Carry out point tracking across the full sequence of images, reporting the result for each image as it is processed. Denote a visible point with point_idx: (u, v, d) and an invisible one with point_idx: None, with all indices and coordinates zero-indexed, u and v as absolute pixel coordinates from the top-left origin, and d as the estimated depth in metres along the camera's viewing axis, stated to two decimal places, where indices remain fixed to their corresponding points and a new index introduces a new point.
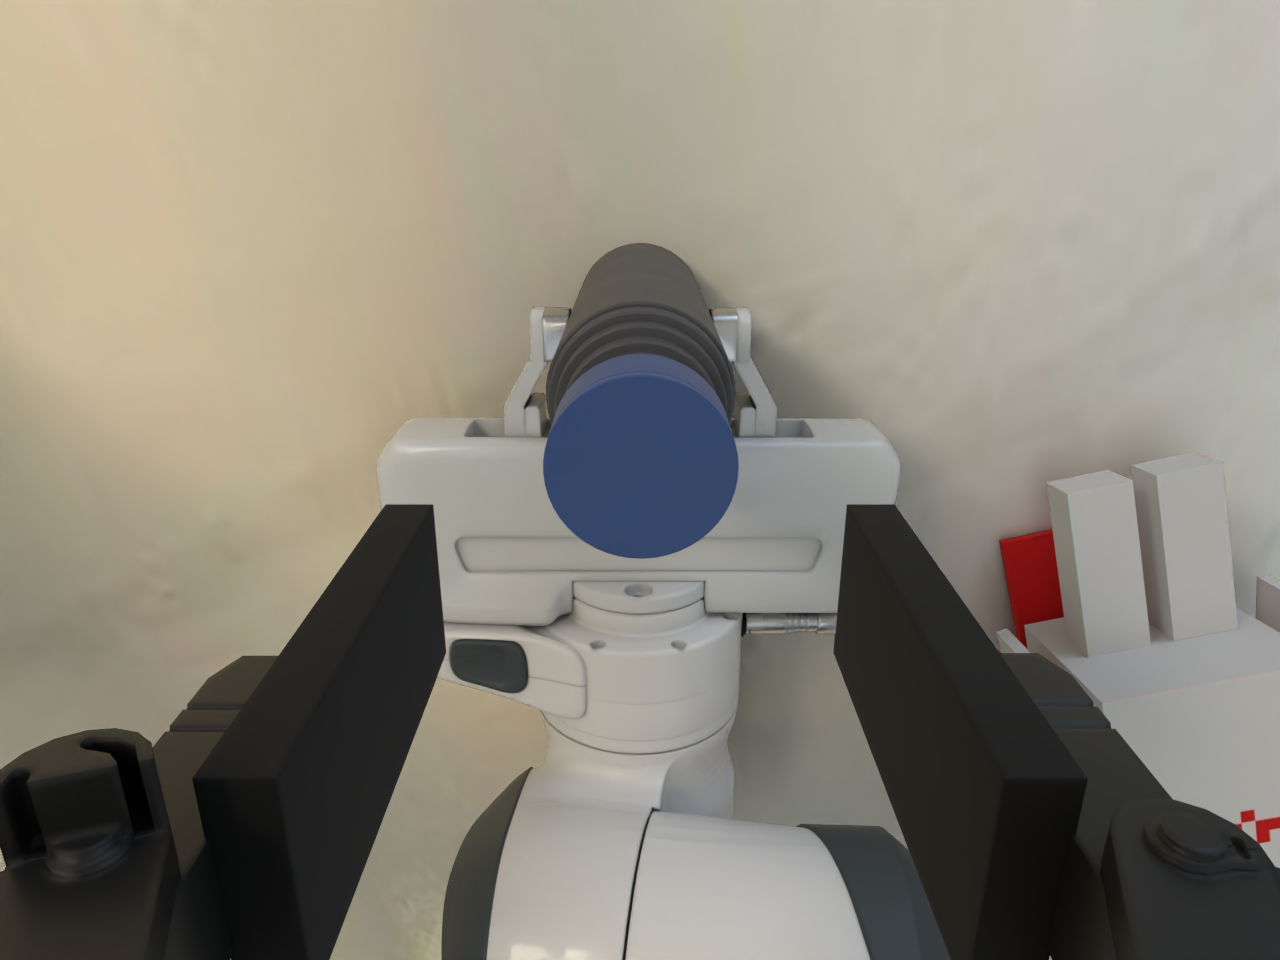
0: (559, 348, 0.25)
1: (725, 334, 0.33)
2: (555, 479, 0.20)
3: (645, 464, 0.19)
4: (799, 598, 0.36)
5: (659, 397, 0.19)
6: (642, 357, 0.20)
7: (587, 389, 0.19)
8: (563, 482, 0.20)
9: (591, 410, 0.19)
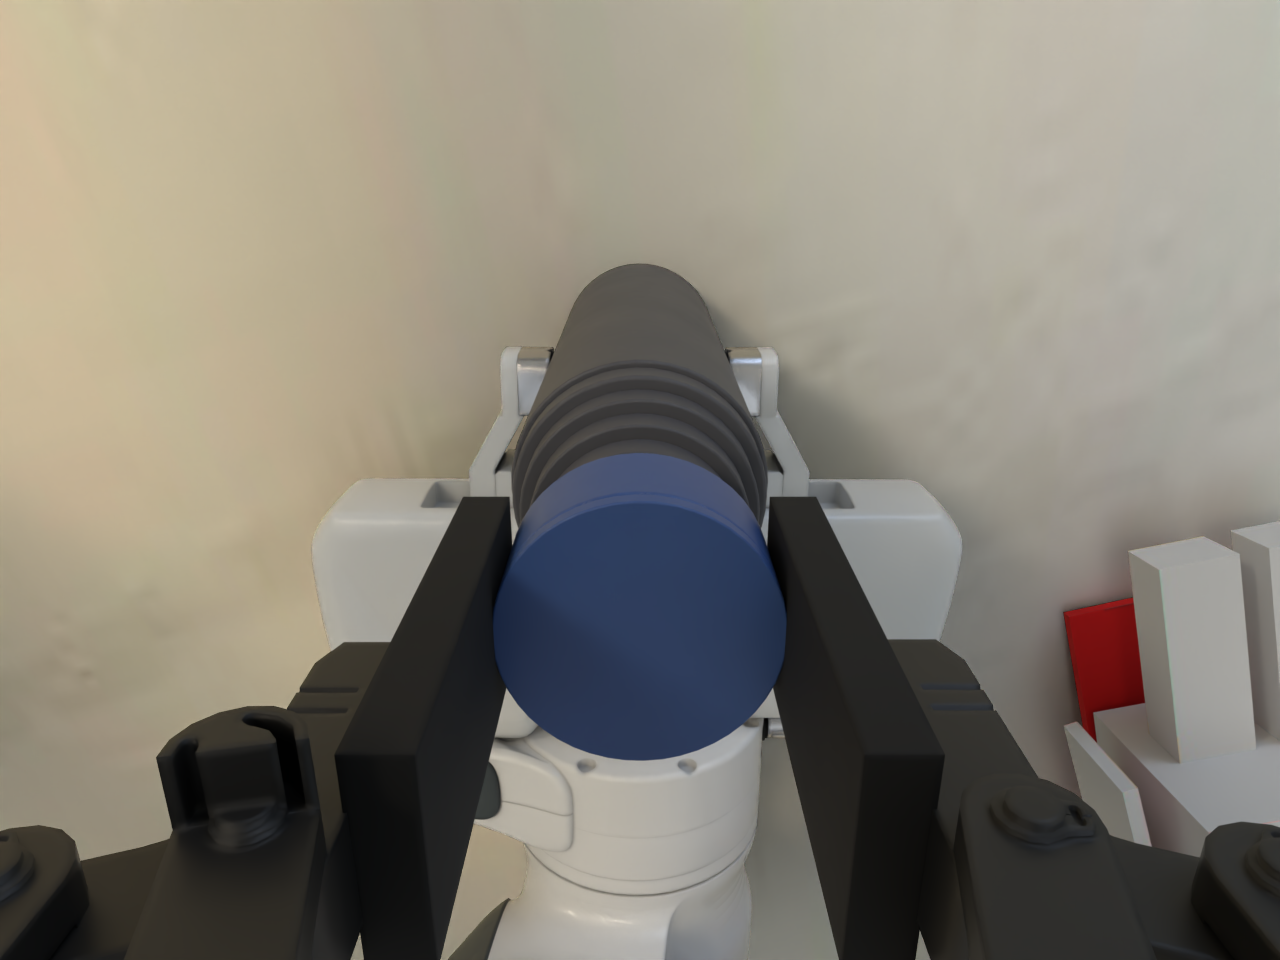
0: (528, 423, 0.18)
1: (746, 382, 0.26)
2: (510, 651, 0.13)
3: (646, 630, 0.13)
4: None
5: (668, 534, 0.12)
6: (642, 461, 0.14)
7: (557, 521, 0.12)
8: (522, 655, 0.13)
9: (563, 553, 0.12)
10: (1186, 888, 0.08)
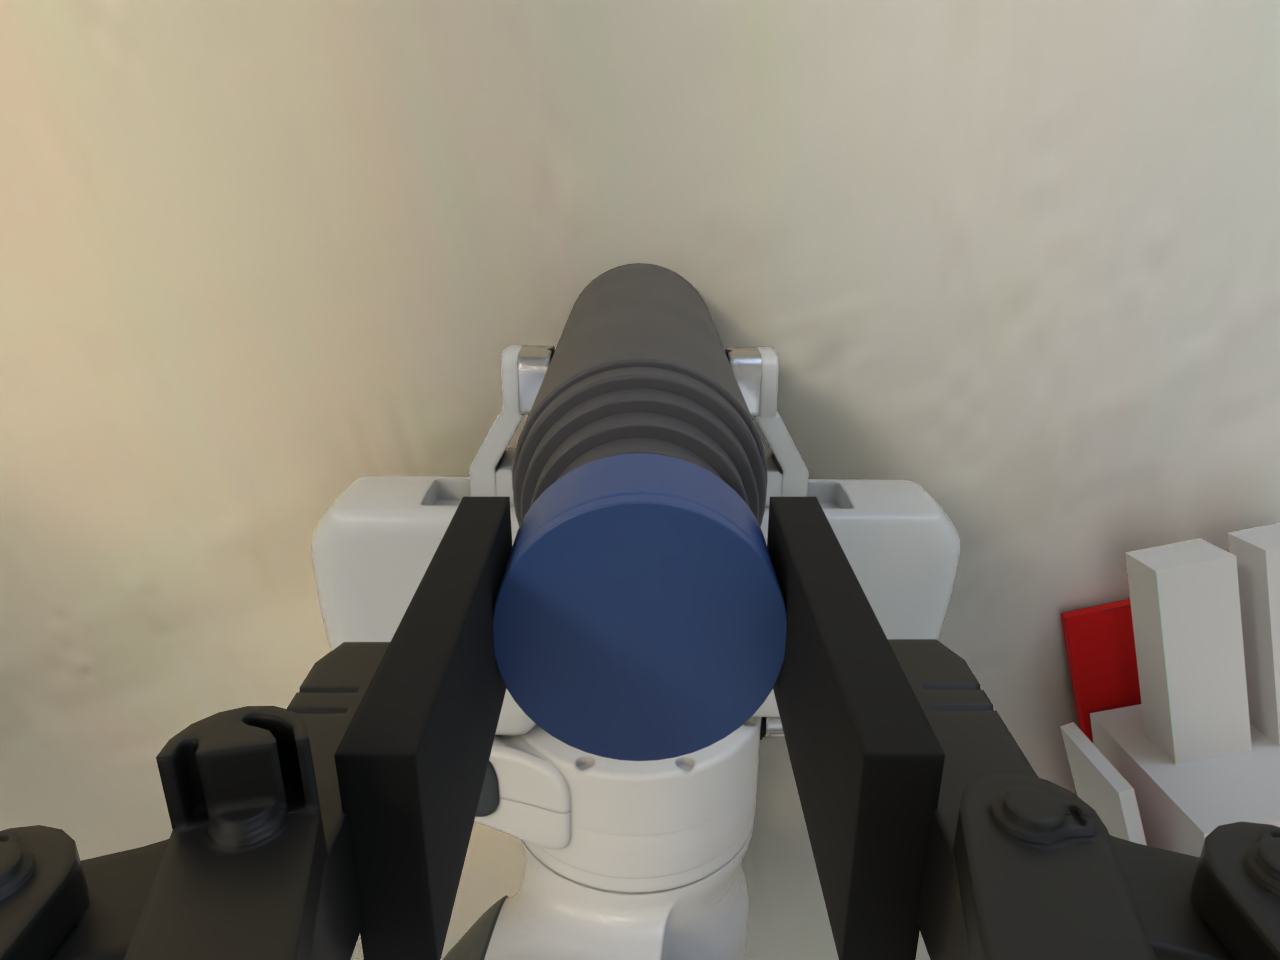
0: (529, 421, 0.18)
1: (746, 382, 0.26)
2: (696, 736, 0.13)
3: (627, 637, 0.13)
4: None
5: (523, 652, 0.13)
6: None
7: (553, 735, 0.13)
8: (696, 726, 0.13)
9: (578, 725, 0.13)
10: (1186, 888, 0.08)
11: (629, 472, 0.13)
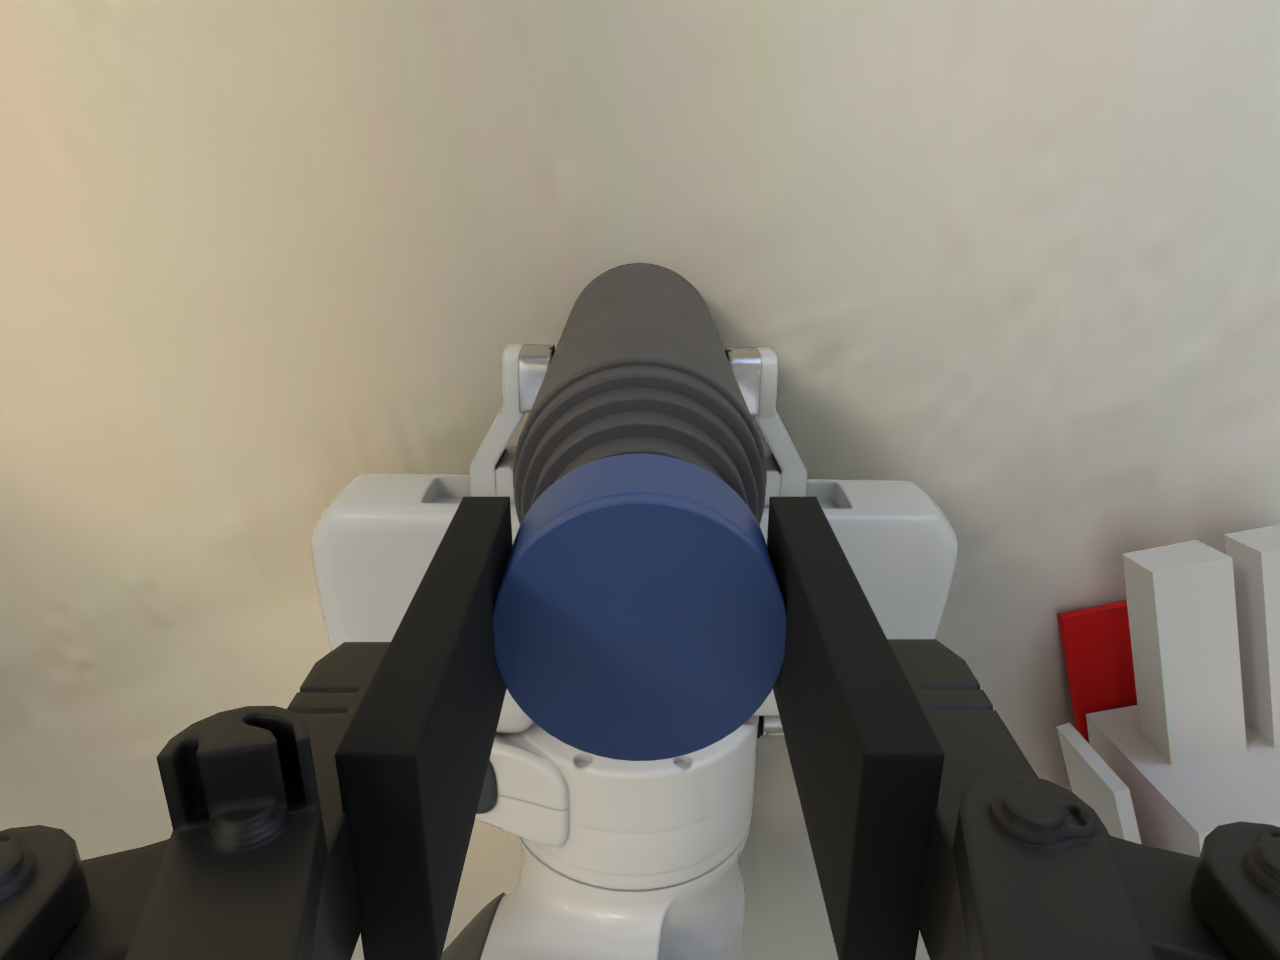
0: (531, 419, 0.18)
1: (745, 382, 0.26)
2: (732, 551, 0.12)
3: (641, 650, 0.13)
4: None
5: (692, 727, 0.13)
6: None
7: (778, 675, 0.13)
8: (719, 556, 0.12)
9: (756, 660, 0.13)
10: (1185, 888, 0.08)
11: None
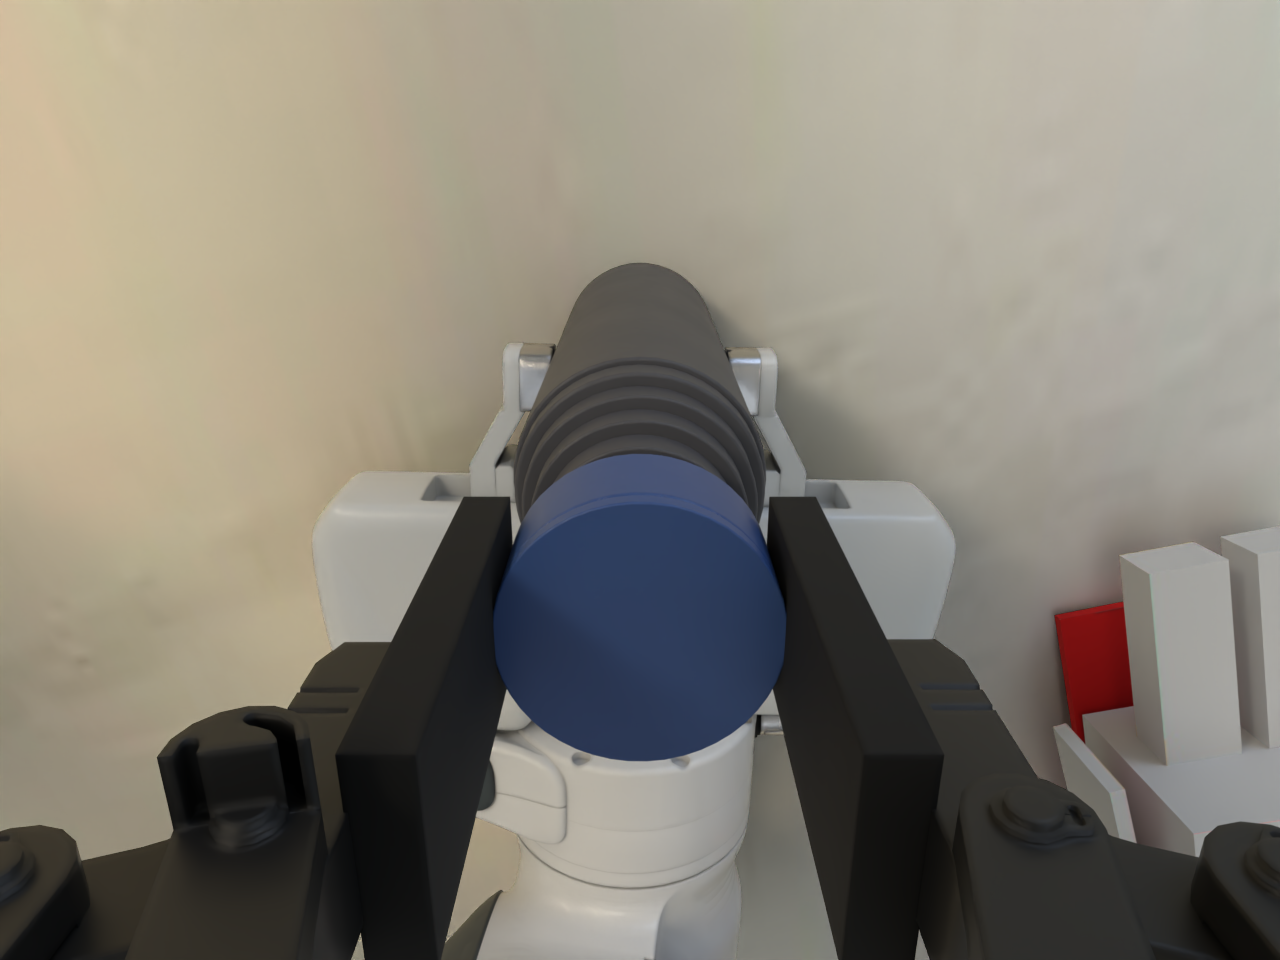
0: (532, 417, 0.18)
1: (745, 382, 0.26)
2: (516, 595, 0.13)
3: (651, 635, 0.13)
4: None
5: (722, 560, 0.12)
6: (708, 479, 0.14)
7: (631, 501, 0.12)
8: (525, 604, 0.13)
9: (620, 531, 0.12)
10: (1185, 888, 0.08)
11: None
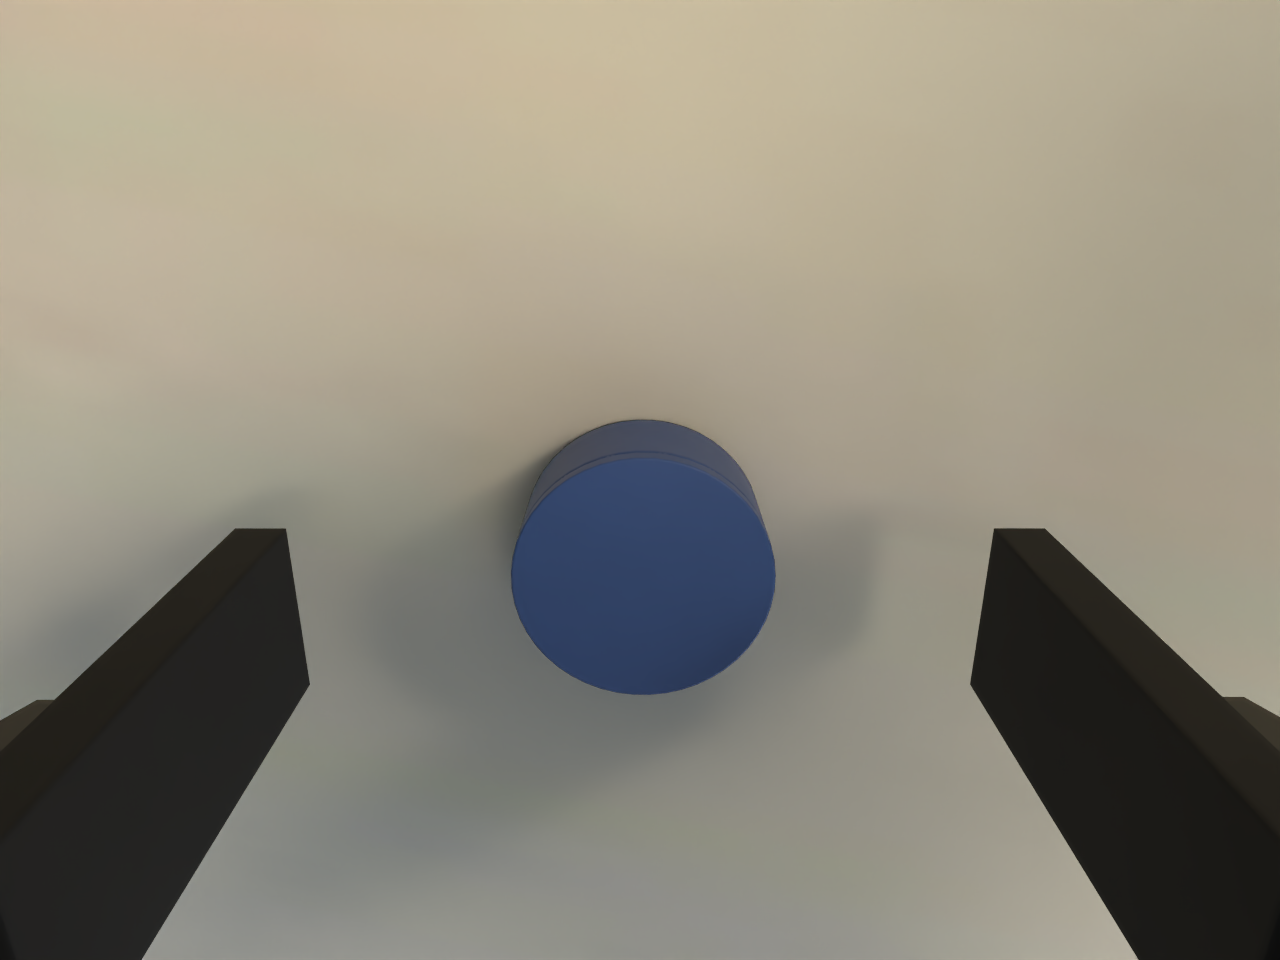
0: None
1: None
2: (533, 542, 0.14)
3: (653, 578, 0.14)
4: None
5: (716, 511, 0.14)
6: (705, 442, 0.15)
7: (635, 457, 0.14)
8: (541, 550, 0.14)
9: (626, 484, 0.14)
10: None
11: None
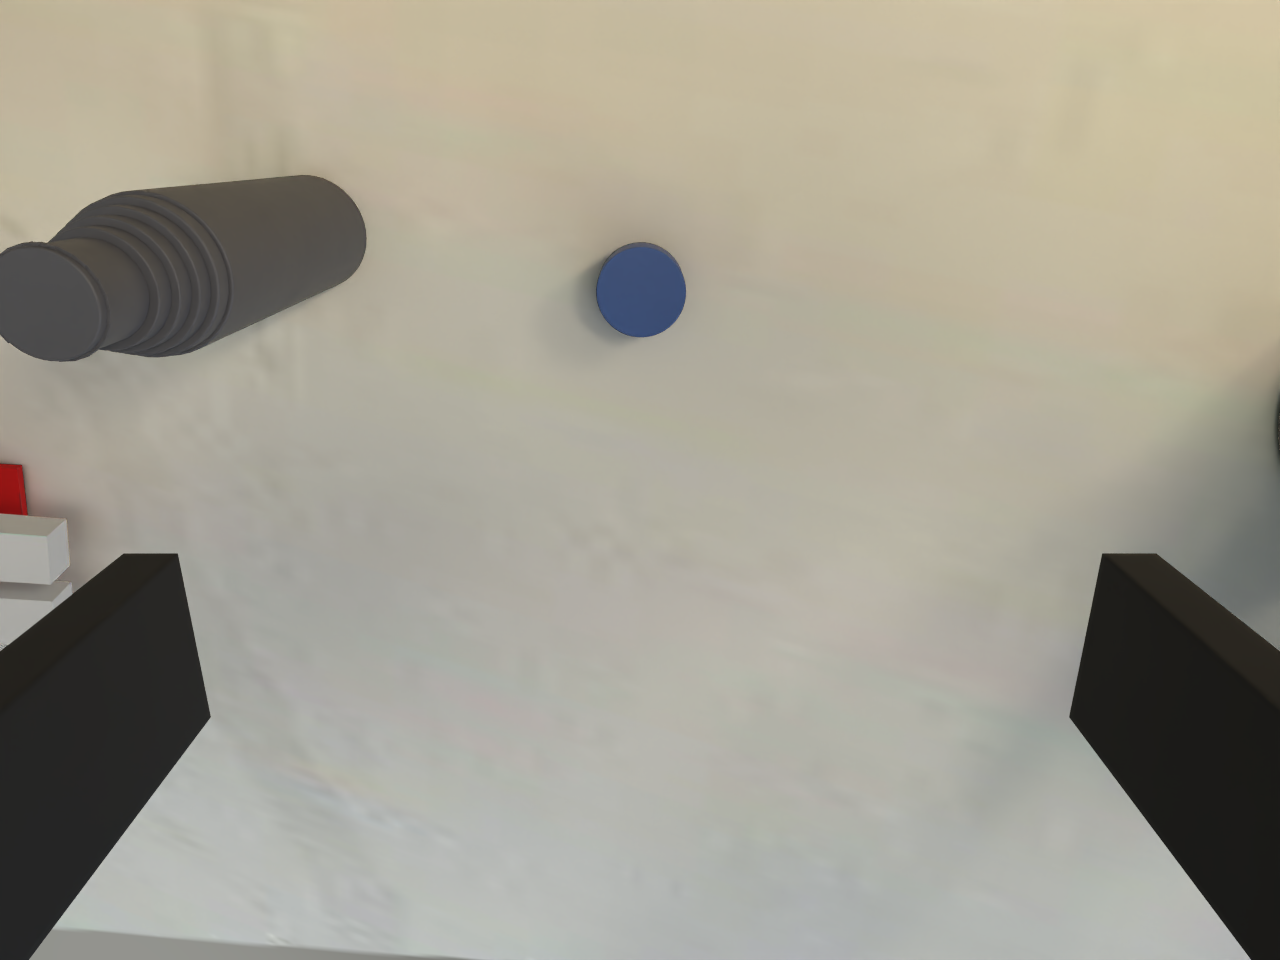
0: (207, 226, 0.29)
1: None
2: (604, 277, 0.42)
3: (644, 291, 0.42)
4: None
5: (665, 265, 0.42)
6: (662, 249, 0.43)
7: (638, 246, 0.42)
8: (607, 280, 0.42)
9: (635, 256, 0.42)
10: None
11: None
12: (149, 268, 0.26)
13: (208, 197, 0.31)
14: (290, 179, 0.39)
